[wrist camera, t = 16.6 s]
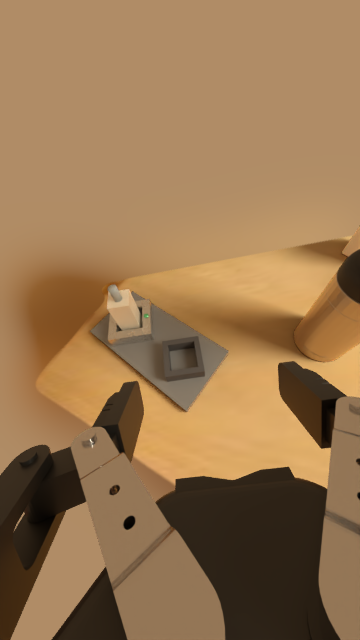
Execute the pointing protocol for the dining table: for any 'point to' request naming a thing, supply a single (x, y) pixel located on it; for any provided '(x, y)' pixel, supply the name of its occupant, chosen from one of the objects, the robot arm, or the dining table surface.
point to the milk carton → (352, 244)
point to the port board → (151, 360)
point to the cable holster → (179, 345)
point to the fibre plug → (123, 308)
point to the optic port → (133, 335)
